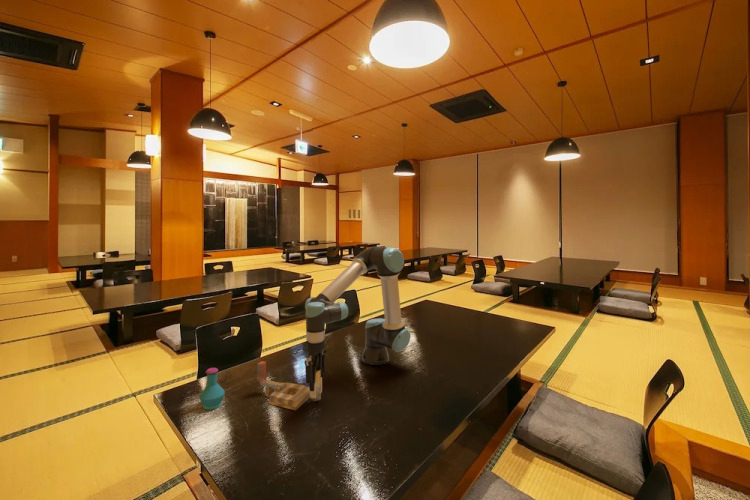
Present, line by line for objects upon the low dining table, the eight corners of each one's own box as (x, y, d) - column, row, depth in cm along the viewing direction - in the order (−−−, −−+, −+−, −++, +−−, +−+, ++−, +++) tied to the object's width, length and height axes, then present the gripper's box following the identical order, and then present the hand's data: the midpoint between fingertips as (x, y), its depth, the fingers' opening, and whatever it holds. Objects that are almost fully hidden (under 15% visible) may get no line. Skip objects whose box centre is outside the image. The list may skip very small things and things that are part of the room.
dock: (312, 394, 142) (312, 383, 141) (295, 410, 129) (295, 398, 129) (277, 387, 148) (277, 376, 148) (258, 401, 136) (258, 389, 135)
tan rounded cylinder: (322, 396, 136) (322, 369, 135) (317, 401, 133) (317, 373, 132) (314, 394, 138) (314, 367, 137) (309, 399, 134) (309, 371, 133)
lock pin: (284, 387, 140) (284, 365, 140) (280, 390, 138) (280, 368, 137) (261, 381, 145) (261, 361, 144) (257, 384, 142) (257, 363, 141)
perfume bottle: (217, 396, 139) (216, 362, 138) (229, 403, 133) (228, 368, 132) (195, 406, 131) (194, 370, 130) (207, 414, 126) (206, 376, 125)
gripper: (318, 332, 142) (318, 383, 144) (295, 346, 126) (296, 403, 128) (333, 334, 140) (333, 386, 142) (312, 348, 124) (313, 407, 126)
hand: (316, 394), depth 135 cm, fingers closed on tan rounded cylinder, 4 cm apart
